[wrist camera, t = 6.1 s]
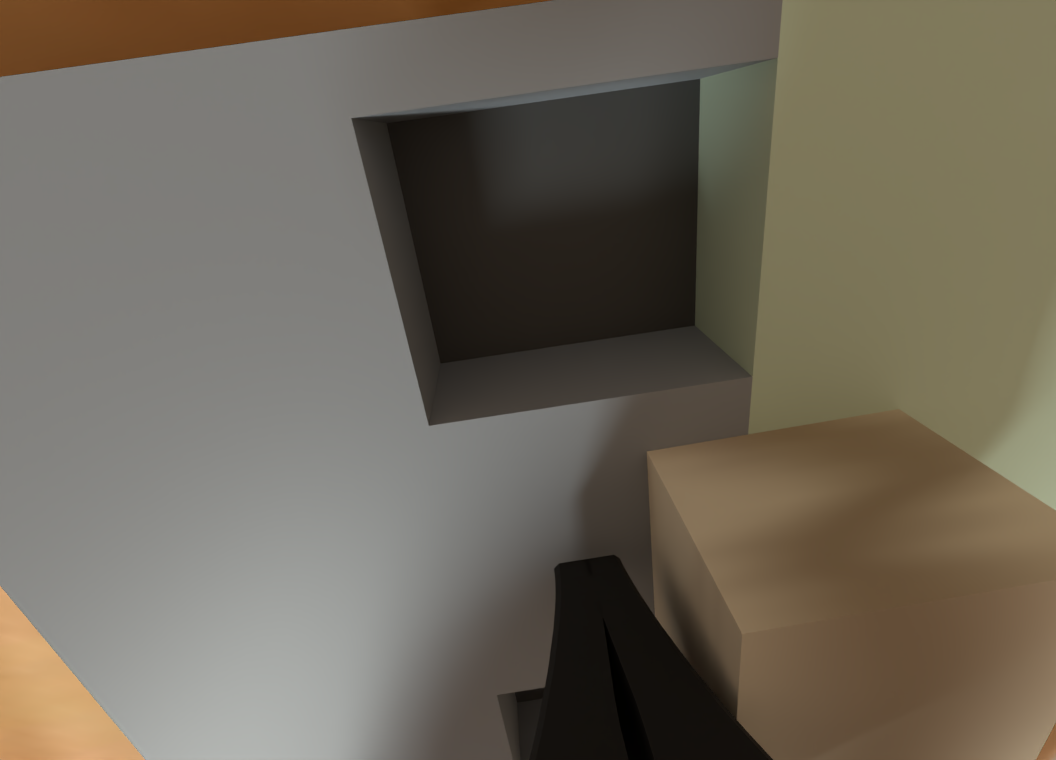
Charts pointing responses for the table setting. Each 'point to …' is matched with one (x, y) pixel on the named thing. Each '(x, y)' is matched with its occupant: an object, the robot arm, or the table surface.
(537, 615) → the trap deck
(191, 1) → the table surface
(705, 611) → the block
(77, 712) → the table surface
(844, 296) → the pad
